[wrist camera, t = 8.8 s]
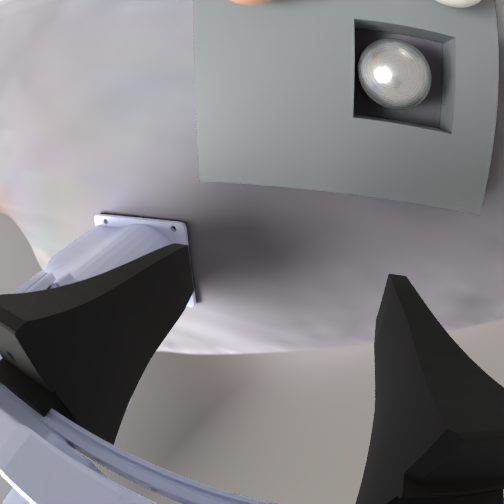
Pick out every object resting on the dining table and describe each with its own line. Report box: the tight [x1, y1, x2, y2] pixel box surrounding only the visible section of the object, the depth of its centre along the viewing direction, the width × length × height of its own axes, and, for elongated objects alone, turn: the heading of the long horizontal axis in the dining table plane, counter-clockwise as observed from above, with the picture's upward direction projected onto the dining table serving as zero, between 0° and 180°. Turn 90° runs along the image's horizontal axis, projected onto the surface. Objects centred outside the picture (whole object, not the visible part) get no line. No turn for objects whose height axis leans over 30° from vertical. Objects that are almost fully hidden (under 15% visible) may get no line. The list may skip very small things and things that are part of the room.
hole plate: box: [193, 0, 499, 216], centre depth 14 cm, size 17×16×2 cm
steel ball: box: [358, 38, 432, 110], centre depth 13 cm, size 4×4×4 cm
